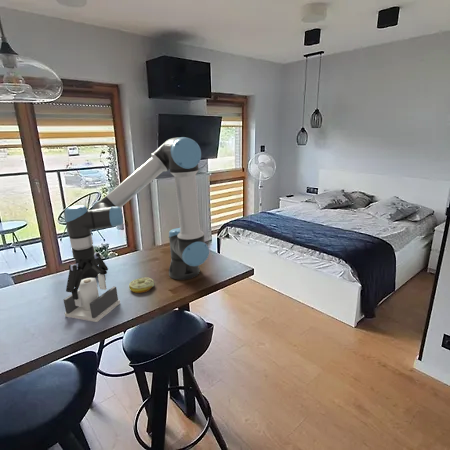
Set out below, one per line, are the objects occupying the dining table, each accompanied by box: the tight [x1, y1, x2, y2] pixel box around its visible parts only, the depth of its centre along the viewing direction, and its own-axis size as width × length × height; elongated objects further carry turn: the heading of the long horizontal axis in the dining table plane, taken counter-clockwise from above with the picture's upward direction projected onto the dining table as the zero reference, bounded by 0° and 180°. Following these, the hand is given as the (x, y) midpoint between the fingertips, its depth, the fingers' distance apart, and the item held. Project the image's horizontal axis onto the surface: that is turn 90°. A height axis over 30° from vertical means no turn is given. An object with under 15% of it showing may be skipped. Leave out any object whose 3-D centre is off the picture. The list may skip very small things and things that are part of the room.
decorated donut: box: [128, 276, 155, 294], centre depth 142 cm, size 10×11×4 cm
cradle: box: [62, 286, 121, 323], centre depth 125 cm, size 15×14×8 cm
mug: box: [79, 259, 100, 280], centre depth 157 cm, size 9×12×9 cm
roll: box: [78, 277, 100, 311], centre depth 124 cm, size 6×6×11 cm
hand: (91, 297), depth 125 cm, fingers open, 13 cm apart
